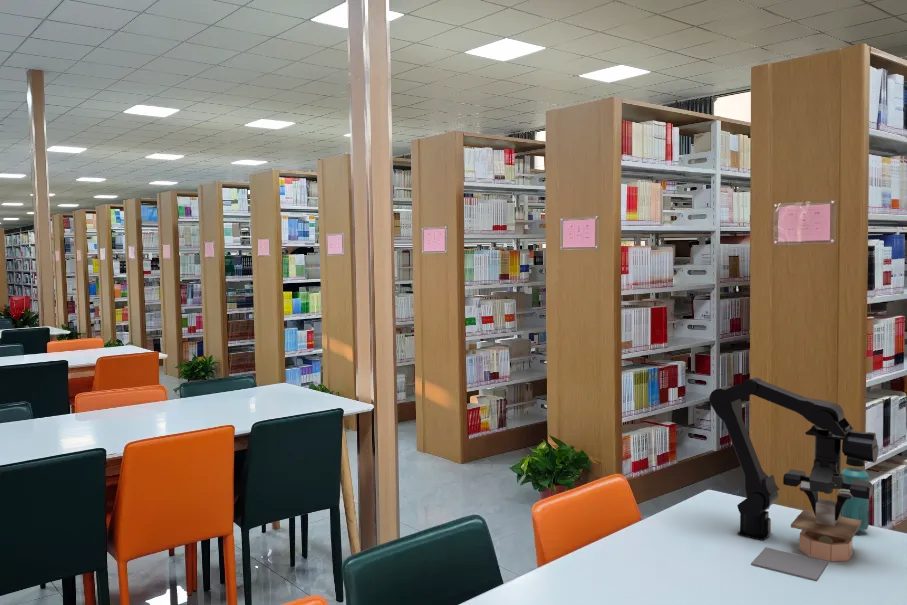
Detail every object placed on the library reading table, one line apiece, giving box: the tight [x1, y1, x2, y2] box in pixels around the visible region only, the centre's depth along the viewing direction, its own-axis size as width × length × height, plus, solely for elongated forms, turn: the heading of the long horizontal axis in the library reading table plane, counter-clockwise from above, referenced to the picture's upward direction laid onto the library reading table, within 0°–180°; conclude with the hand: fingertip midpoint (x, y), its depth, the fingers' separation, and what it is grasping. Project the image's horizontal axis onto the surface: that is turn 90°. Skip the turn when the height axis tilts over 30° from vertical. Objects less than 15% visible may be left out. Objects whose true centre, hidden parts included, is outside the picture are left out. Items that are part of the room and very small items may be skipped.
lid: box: [790, 498, 862, 541], centre depth 172 cm, size 13×13×6 cm
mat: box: [750, 547, 829, 582], centre depth 166 cm, size 14×12×1 cm
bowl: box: [799, 530, 853, 562], centre depth 173 cm, size 11×11×4 cm
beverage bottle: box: [840, 457, 870, 531], centre depth 185 cm, size 6×7×20 cm
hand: (826, 518), depth 172 cm, fingers closed on lid, 4 cm apart
